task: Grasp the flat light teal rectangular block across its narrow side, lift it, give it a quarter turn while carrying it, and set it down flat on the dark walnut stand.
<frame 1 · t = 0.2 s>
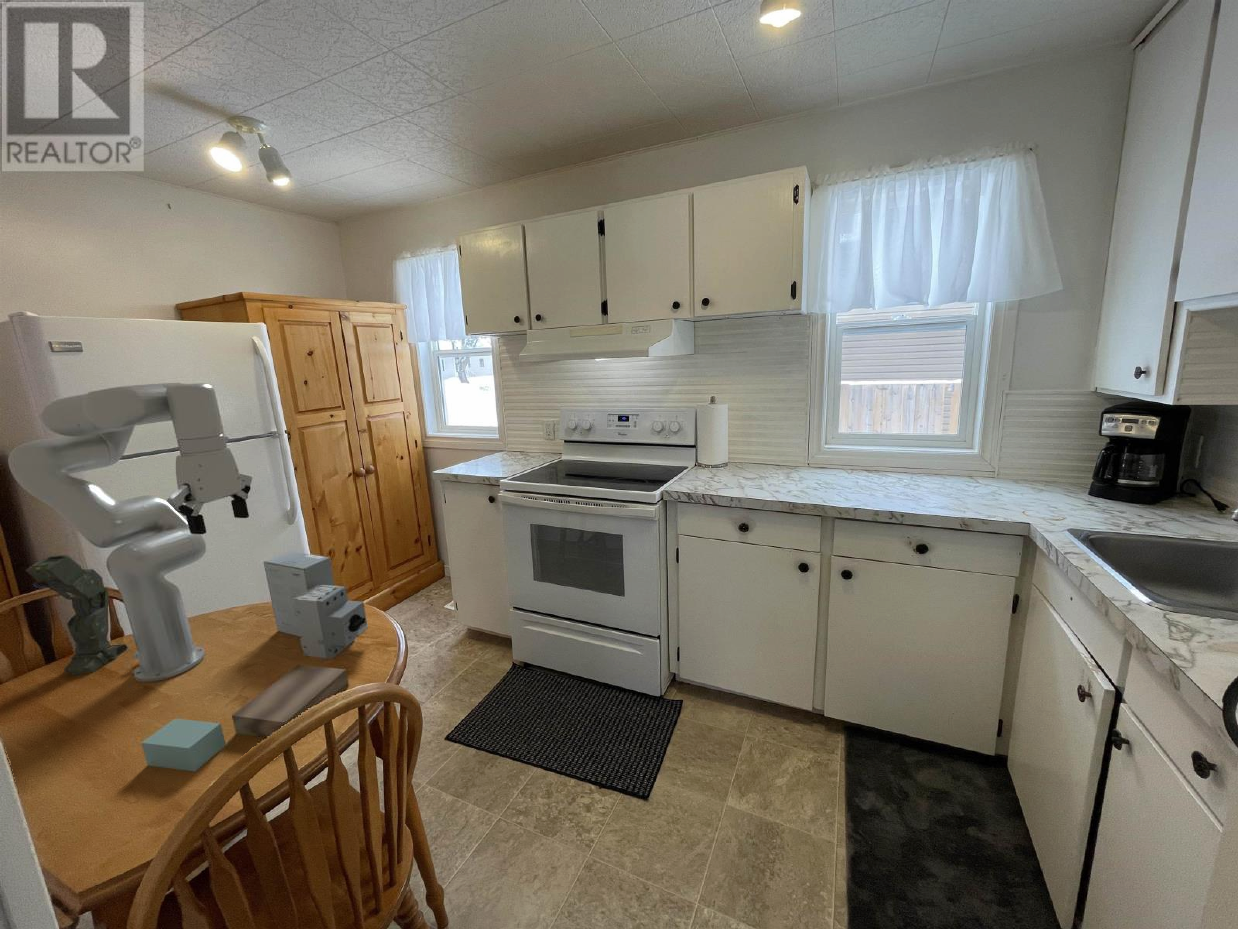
hand: (221, 525, 106), 36 cm above the table, tool pointing down, fingers open, 9 cm apart
grey switch module: (310, 630, 134), on the table
light teal rectangular block: (188, 756, 92), on the table
mechanical leg: (95, 664, 121), on the table
stand: (295, 708, 104), on the table
circuit breaker: (340, 650, 124), on the table
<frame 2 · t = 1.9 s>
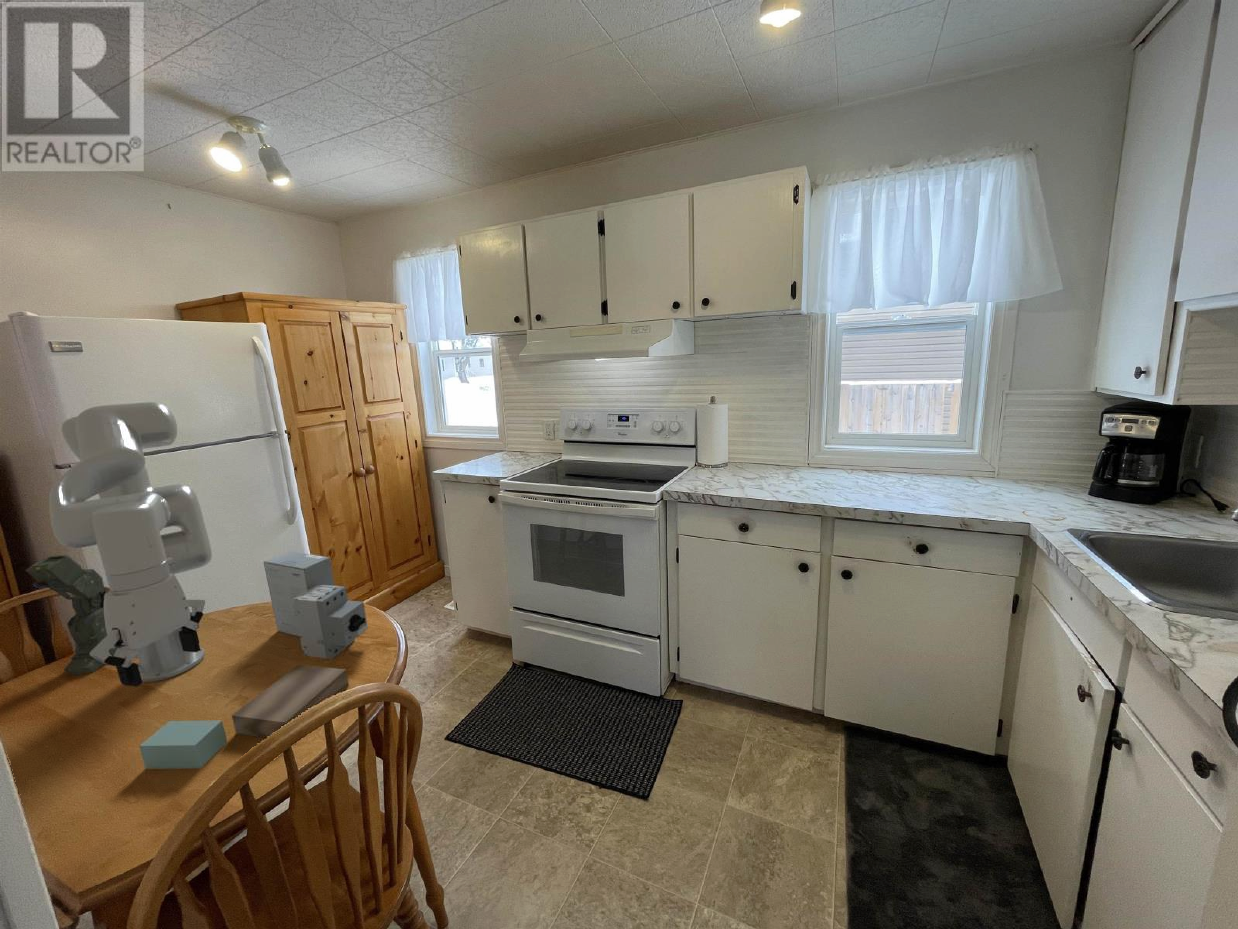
hand: (164, 667, 88), 18 cm above the table, tool pointing down, fingers open, 9 cm apart
nothing on the table moved.
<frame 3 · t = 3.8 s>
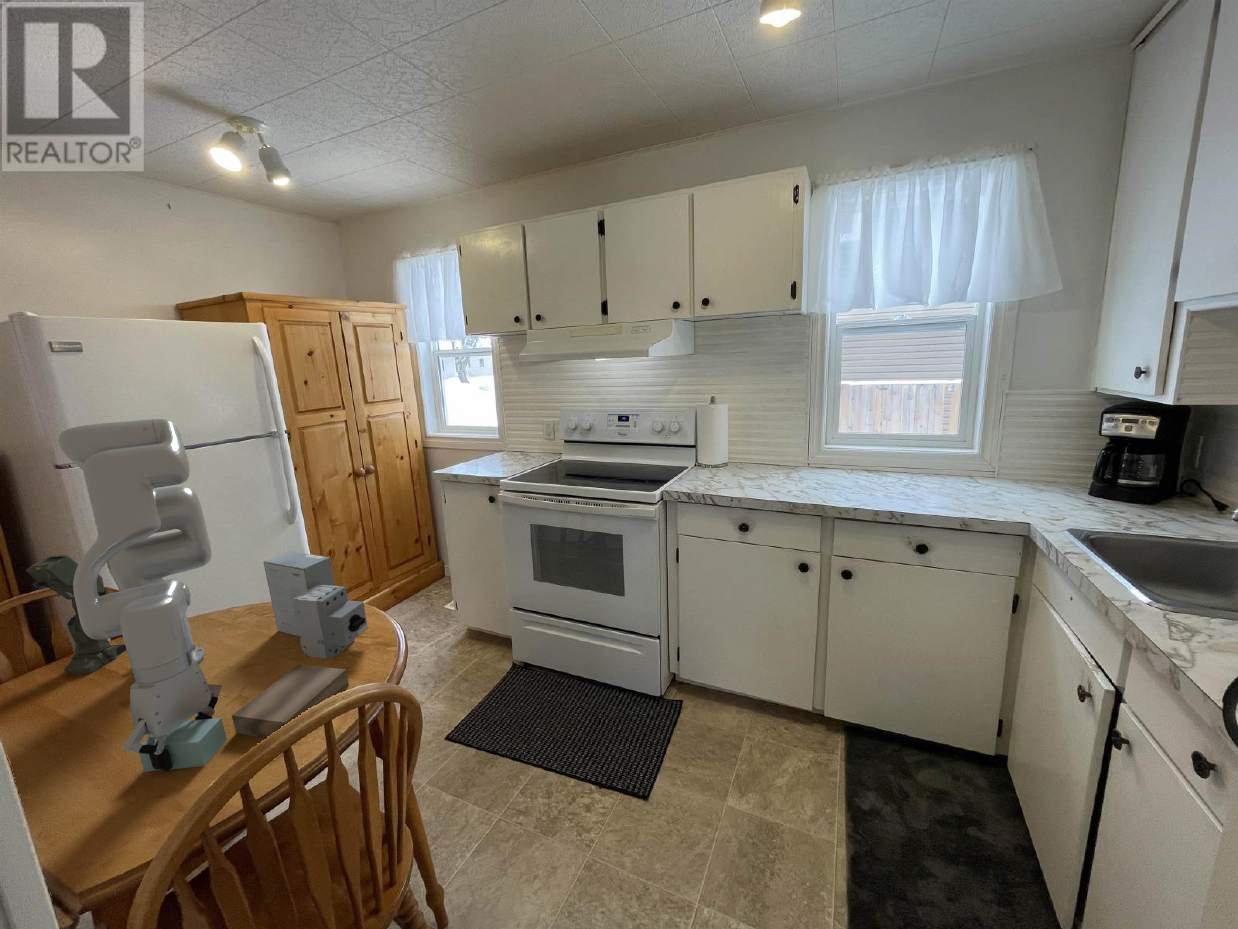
hand: (186, 751, 92), 1 cm above the table, tool pointing down, fingers closed on light teal rectangular block, 7 cm apart
light teal rectangular block: (187, 755, 92), on the table, touching gripper
everything else where it was.
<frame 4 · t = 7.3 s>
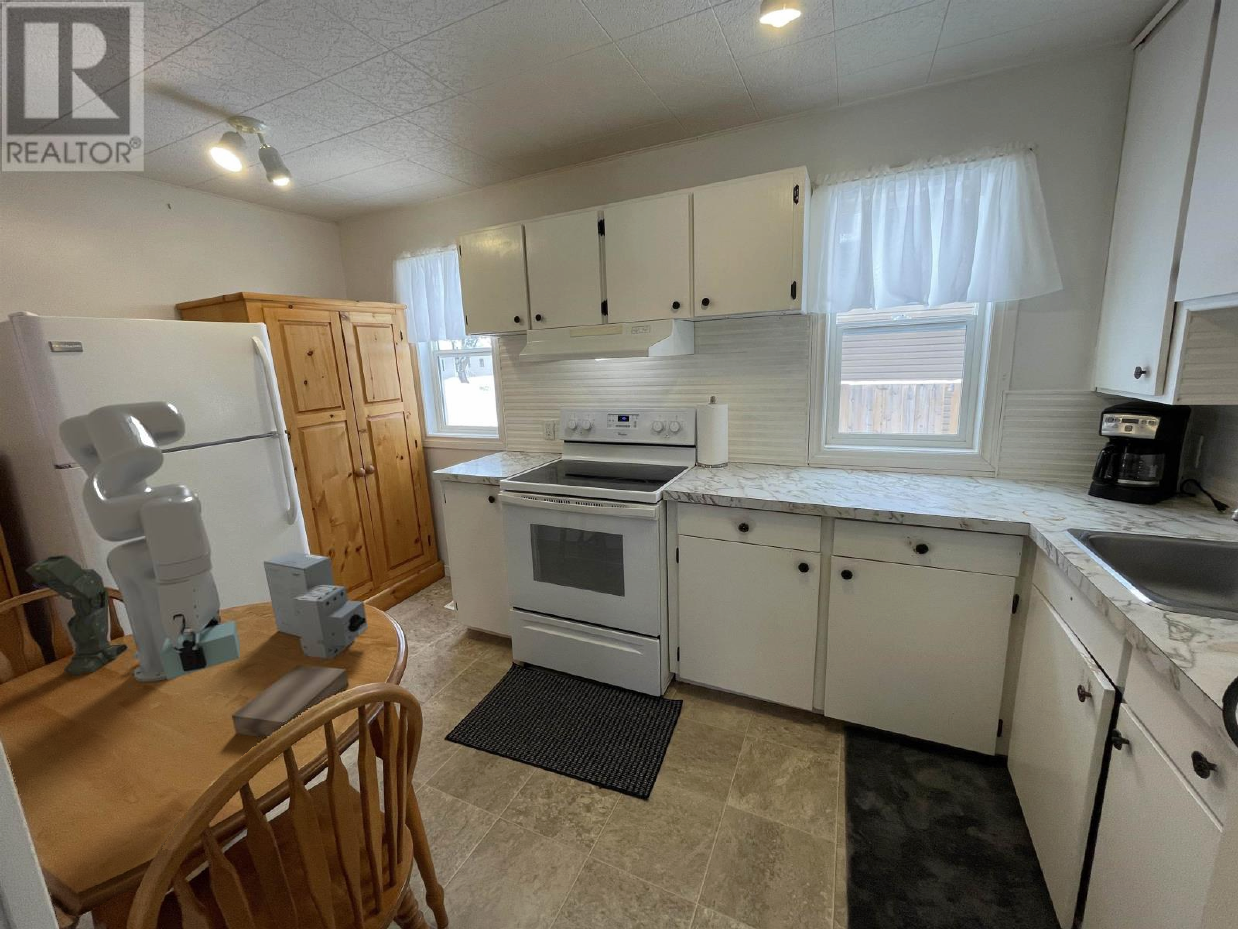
hand: (205, 655, 92), 18 cm above the table, tool pointing down, fingers closed on light teal rectangular block, 7 cm apart
light teal rectangular block: (205, 660, 92), point 17 cm above the table, touching gripper
everything else where it was.
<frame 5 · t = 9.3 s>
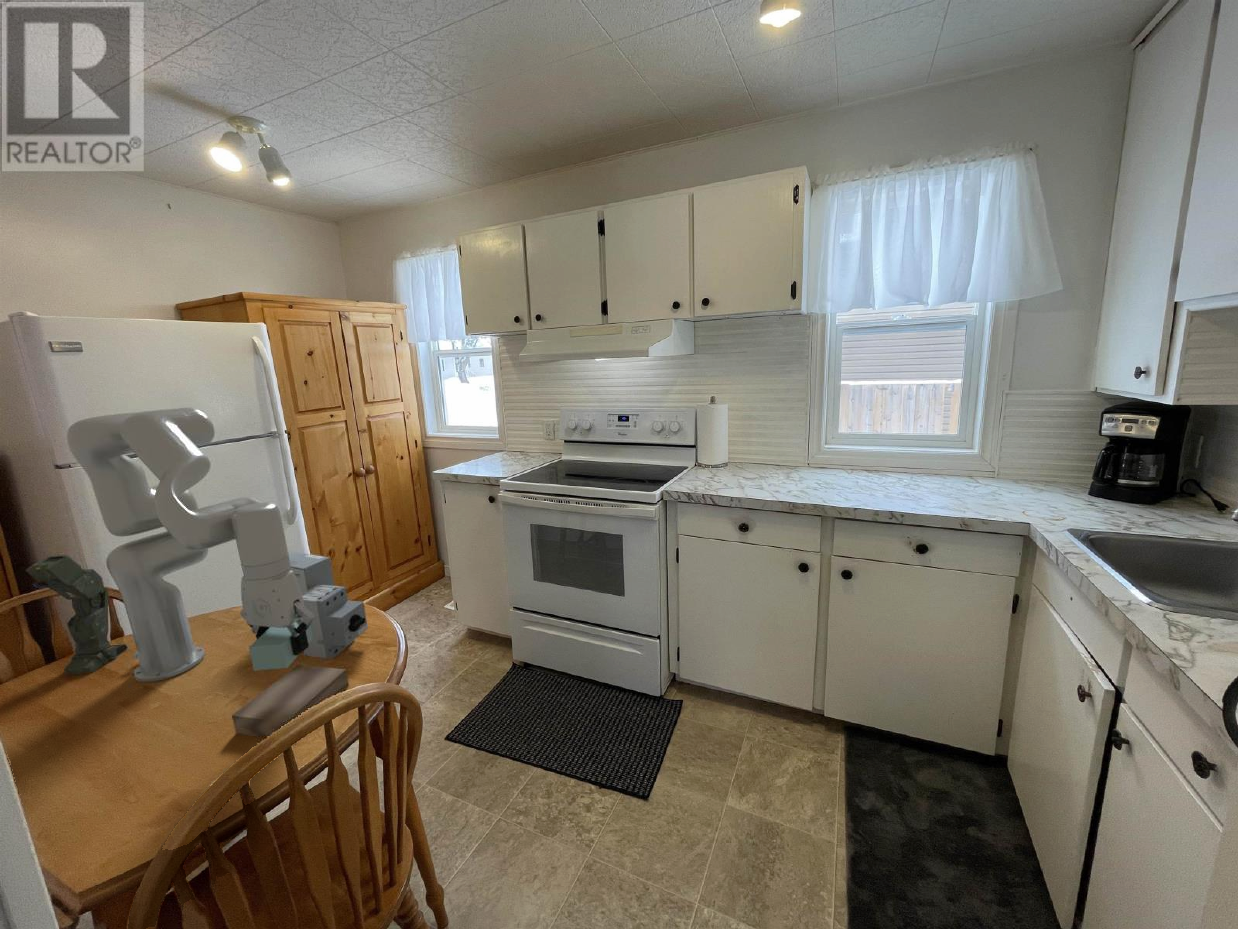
hand: (284, 649, 101), 14 cm above the table, tool pointing down, fingers closed on light teal rectangular block, 7 cm apart
light teal rectangular block: (285, 653, 101), point 13 cm above the table, touching gripper
everything else where it was.
when the fingers open (6 cm above the table, at t = 11.1 s): light teal rectangular block drops 1 cm, resting on stand.
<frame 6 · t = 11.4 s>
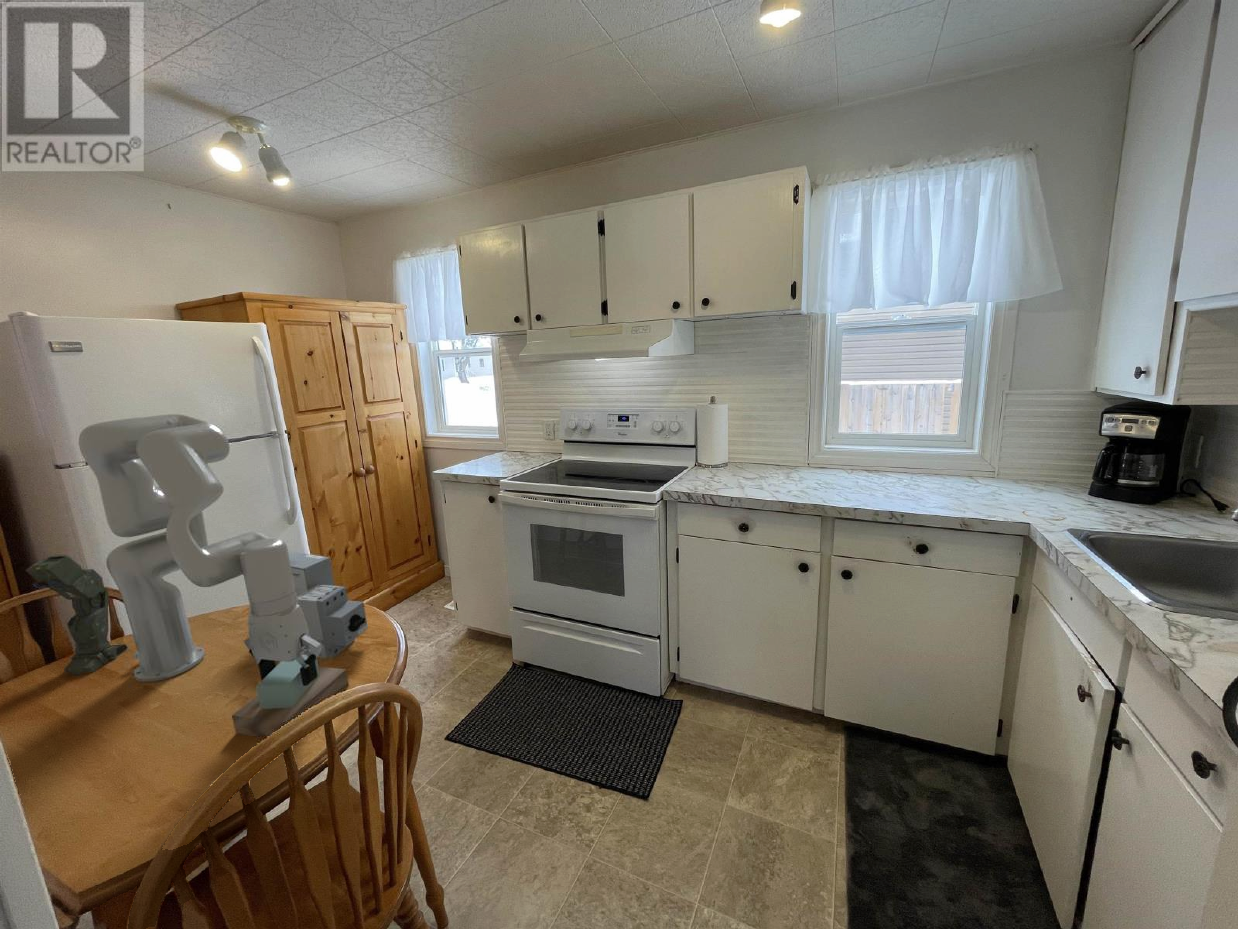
hand: (289, 679, 102), 7 cm above the table, tool pointing down, fingers open, 9 cm apart
light teal rectangular block: (291, 691, 103), point 4 cm above the table, touching stand
everything else where it was.
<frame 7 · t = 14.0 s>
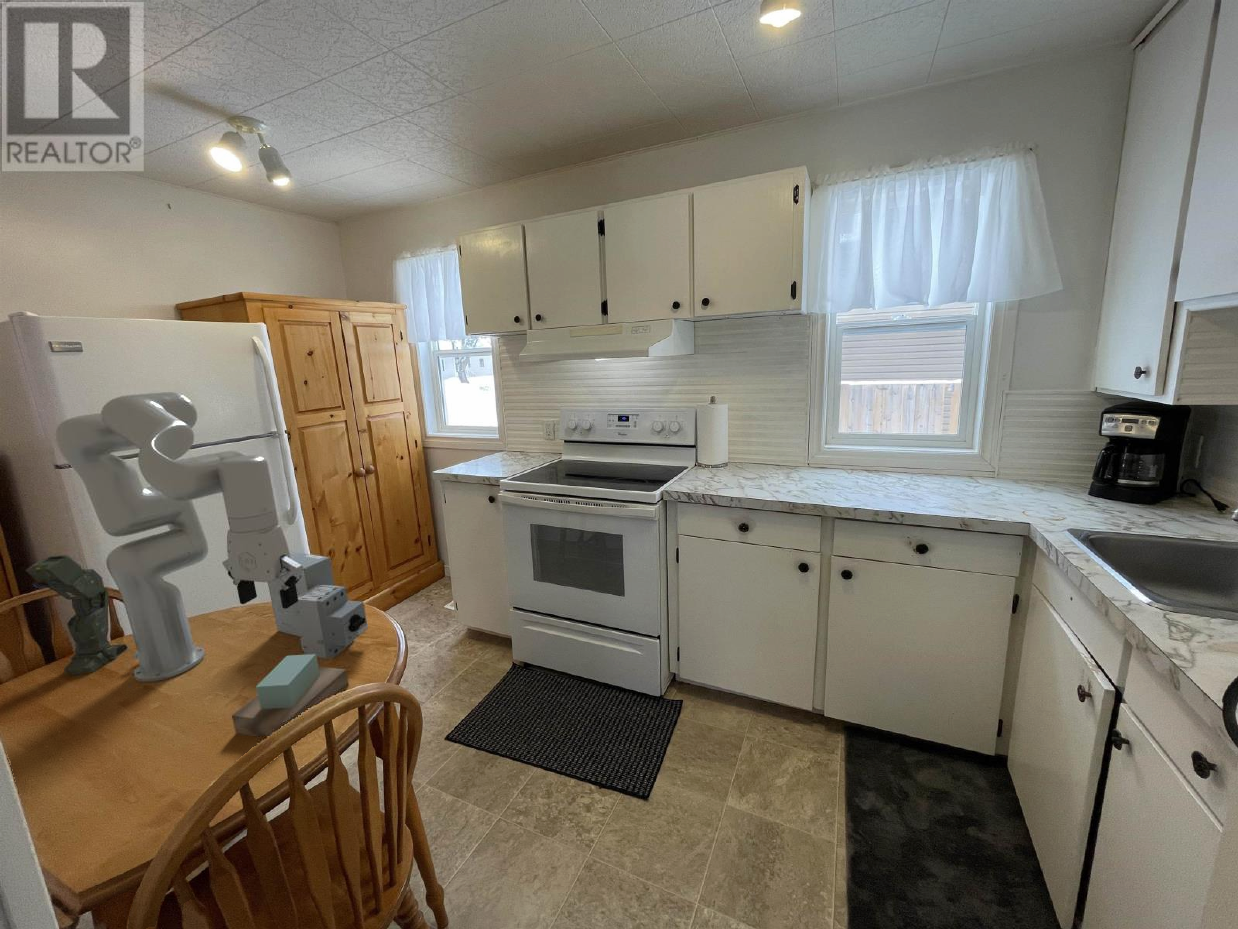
hand: (269, 603, 99), 23 cm above the table, tool pointing down, fingers open, 9 cm apart
nothing on the table moved.
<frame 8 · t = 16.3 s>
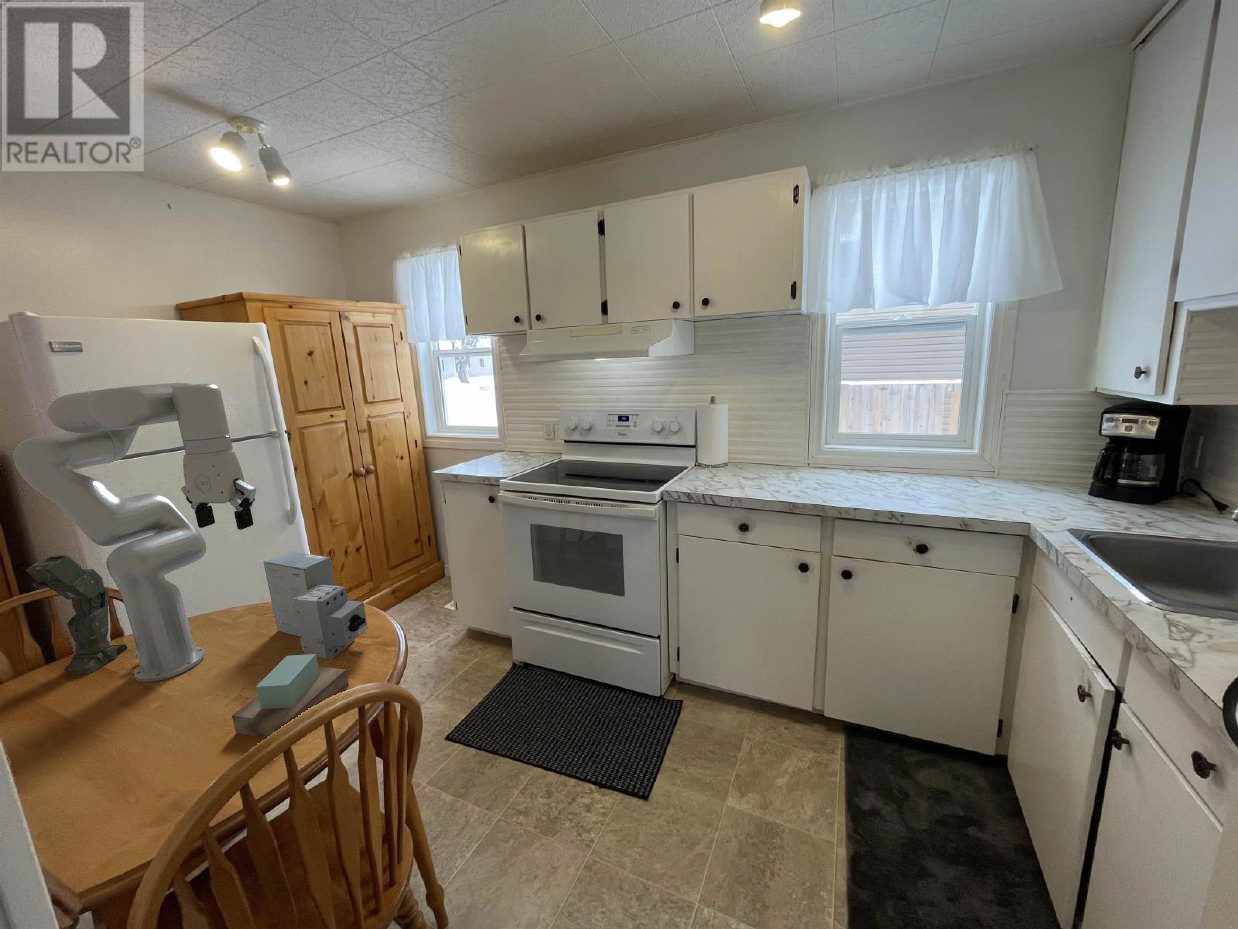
hand: (226, 526, 105), 36 cm above the table, tool pointing down, fingers open, 9 cm apart
nothing on the table moved.
at the end: light teal rectangular block inside the target area on the stand (0.1 cm from its centre), point 4.0 cm above the stand's base; light teal rectangular block tilted 0°; the gripper is holding nothing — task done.
